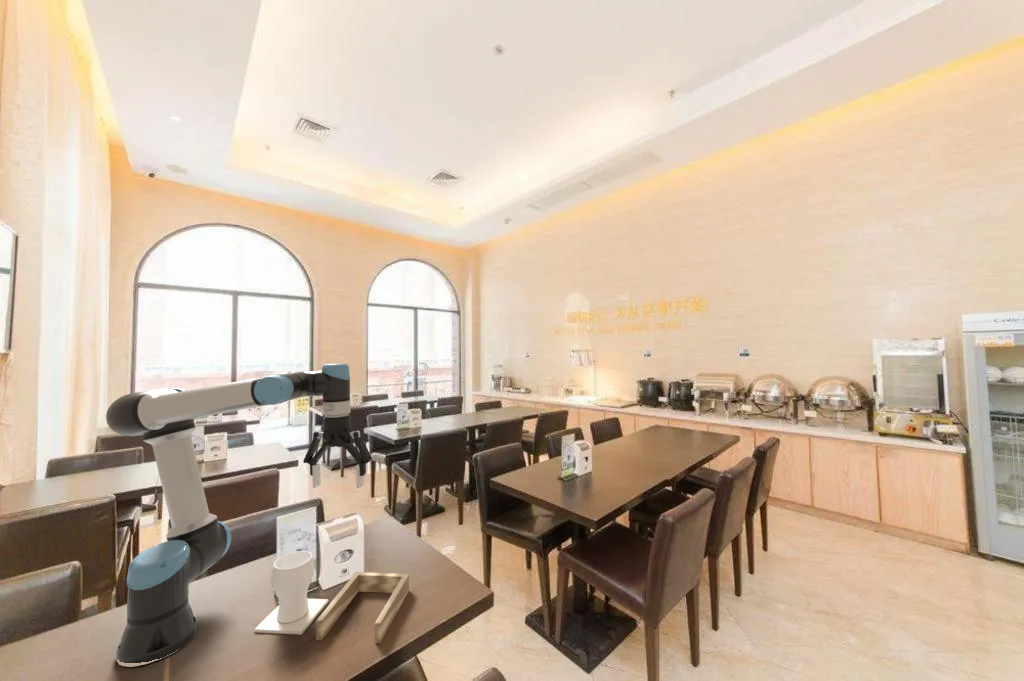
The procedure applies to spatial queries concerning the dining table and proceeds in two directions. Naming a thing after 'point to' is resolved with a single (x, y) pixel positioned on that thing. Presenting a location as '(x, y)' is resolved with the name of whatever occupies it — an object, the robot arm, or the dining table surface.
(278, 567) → the cup
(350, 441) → the robot arm
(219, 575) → the dining table surface
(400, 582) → the frame
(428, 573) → the dining table surface
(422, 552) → the dining table surface
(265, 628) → the tile
